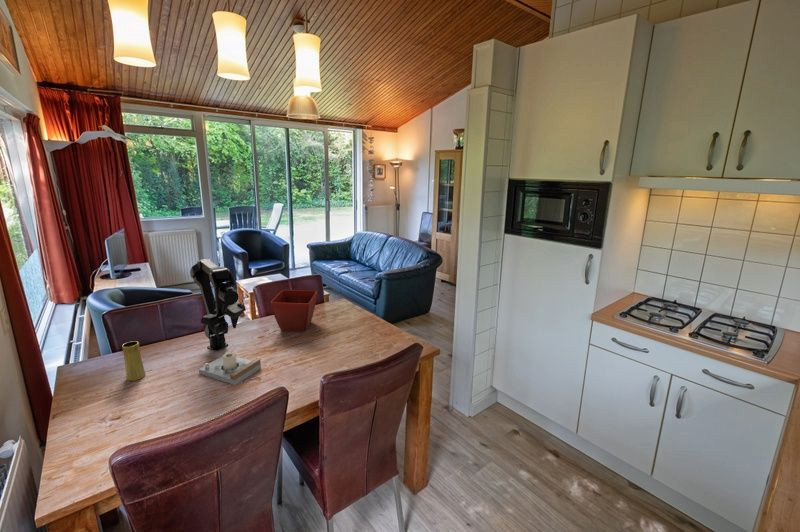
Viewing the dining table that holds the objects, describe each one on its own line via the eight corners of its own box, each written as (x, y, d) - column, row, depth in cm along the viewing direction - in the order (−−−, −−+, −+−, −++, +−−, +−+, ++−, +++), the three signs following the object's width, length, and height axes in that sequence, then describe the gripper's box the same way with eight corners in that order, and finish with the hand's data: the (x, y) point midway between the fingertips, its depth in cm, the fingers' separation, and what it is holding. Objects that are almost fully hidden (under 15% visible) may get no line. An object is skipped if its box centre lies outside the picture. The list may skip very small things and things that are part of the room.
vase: (149, 374, 150) (143, 342, 146) (134, 382, 144) (128, 348, 140) (138, 371, 152) (132, 339, 148) (122, 379, 146) (116, 346, 142)
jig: (199, 373, 151) (198, 364, 150) (226, 358, 164) (226, 349, 162) (234, 385, 144) (233, 375, 143) (261, 367, 157) (260, 359, 155)
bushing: (221, 372, 152) (219, 356, 151) (230, 366, 157) (229, 351, 155) (230, 375, 151) (228, 359, 149) (239, 369, 155) (238, 353, 153)
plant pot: (310, 334, 188) (308, 303, 183) (272, 333, 188) (269, 302, 183) (318, 319, 206) (317, 290, 202) (283, 318, 206) (282, 289, 202)
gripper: (218, 308, 146) (222, 344, 150) (253, 294, 163) (256, 327, 167) (197, 303, 150) (202, 339, 154) (234, 290, 167) (237, 322, 171)
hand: (226, 332), depth 161 cm, fingers open, 9 cm apart
